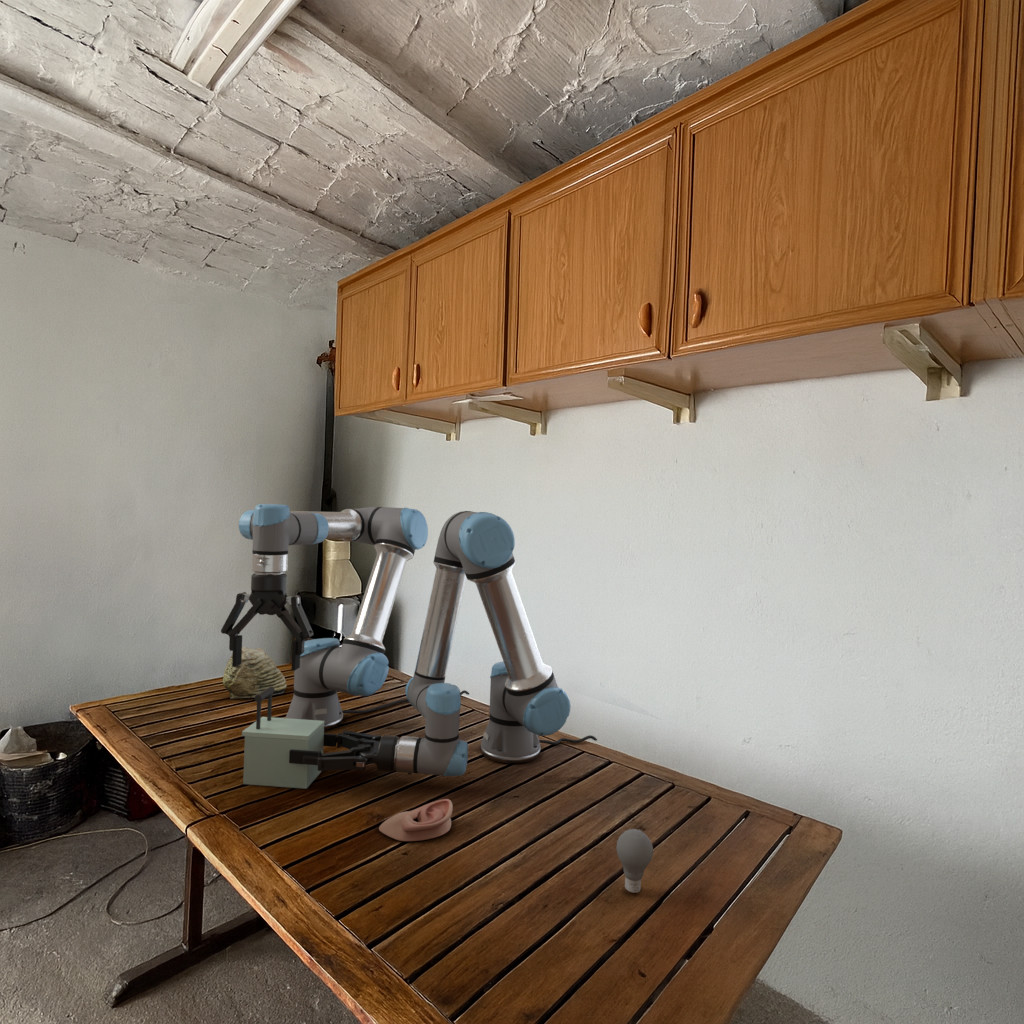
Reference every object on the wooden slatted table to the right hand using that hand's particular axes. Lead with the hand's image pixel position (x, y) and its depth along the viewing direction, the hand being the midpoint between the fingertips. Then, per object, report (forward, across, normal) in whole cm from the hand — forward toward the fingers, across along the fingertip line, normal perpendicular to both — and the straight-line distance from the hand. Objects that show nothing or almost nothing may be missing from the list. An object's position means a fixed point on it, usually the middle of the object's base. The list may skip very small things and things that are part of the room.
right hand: (299, 747), depth 142 cm
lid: (+4, 0, +3) cm, 5 cm away
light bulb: (-70, -32, -7) cm, 78 cm away
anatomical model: (-31, -17, -7) cm, 36 cm away
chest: (+3, 0, -7) cm, 8 cm away
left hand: (+8, 0, +18) cm, 19 cm away
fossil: (+36, +54, -7) cm, 65 cm away
